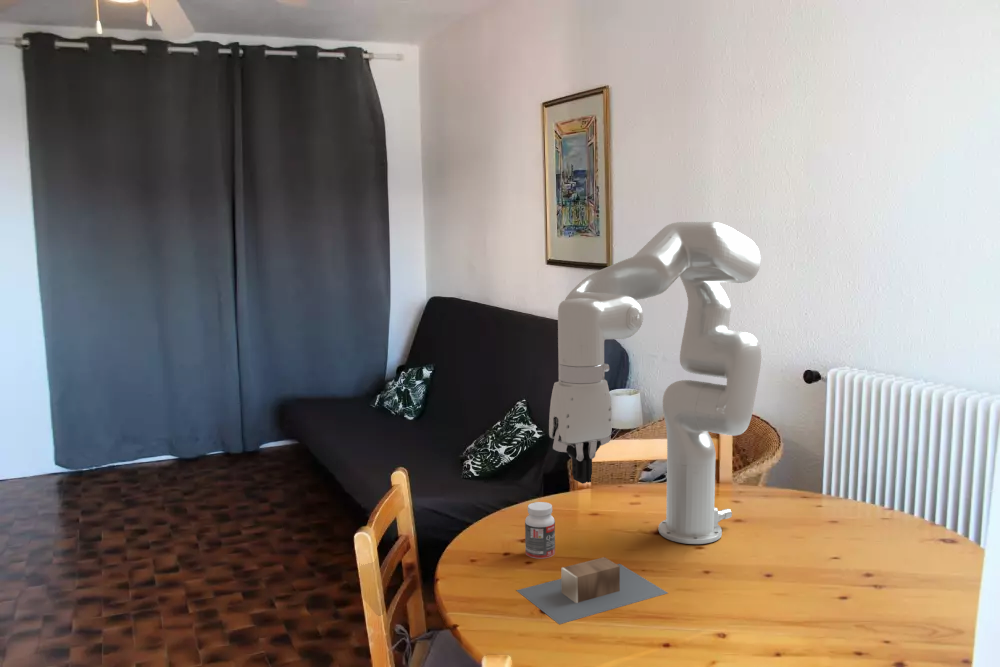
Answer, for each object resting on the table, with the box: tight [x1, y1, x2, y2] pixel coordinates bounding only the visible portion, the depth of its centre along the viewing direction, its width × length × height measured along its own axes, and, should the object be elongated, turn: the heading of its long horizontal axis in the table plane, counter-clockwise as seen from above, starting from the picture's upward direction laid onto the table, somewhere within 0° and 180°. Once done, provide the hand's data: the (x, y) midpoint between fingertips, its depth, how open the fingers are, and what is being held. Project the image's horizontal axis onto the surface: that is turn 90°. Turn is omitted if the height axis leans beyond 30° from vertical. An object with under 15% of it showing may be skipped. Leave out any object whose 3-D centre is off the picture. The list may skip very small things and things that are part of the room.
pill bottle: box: [524, 501, 556, 559], centre depth 162 cm, size 6×6×10 cm
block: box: [560, 556, 620, 603], centre depth 145 cm, size 4×4×9 cm
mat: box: [515, 563, 669, 625], centre depth 145 cm, size 22×14×1 cm, turn 118°
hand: (582, 480), depth 142 cm, fingers closed
